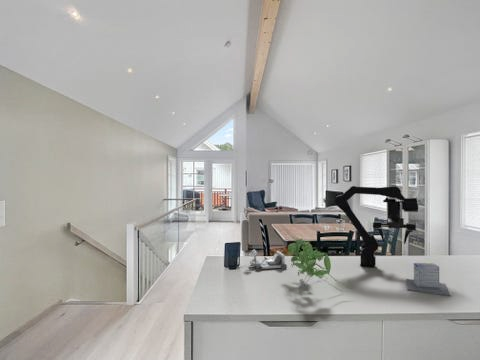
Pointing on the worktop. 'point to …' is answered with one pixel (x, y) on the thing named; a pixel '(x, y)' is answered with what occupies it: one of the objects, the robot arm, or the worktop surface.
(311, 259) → the plant cuttings
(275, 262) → the toy car
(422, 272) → the medicine box
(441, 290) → the mat
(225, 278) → the worktop surface
